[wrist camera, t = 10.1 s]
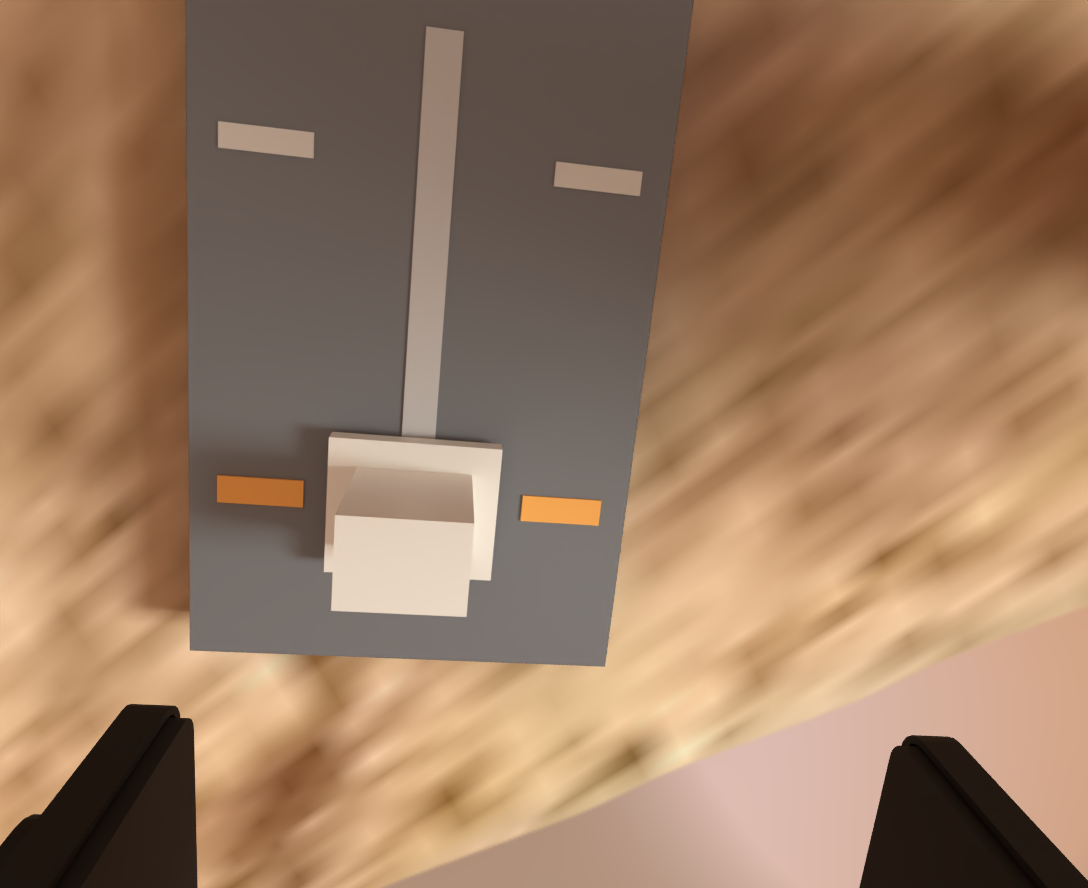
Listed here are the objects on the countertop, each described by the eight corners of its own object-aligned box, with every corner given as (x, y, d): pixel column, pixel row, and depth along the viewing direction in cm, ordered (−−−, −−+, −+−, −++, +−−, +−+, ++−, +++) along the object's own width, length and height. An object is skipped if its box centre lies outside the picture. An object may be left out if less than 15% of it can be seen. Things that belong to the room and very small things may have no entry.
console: (672, 6, 29) (696, -21, 26) (592, 631, 34) (605, 667, 31) (215, -61, 27) (183, -99, 24) (213, 614, 32) (188, 651, 30)
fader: (501, 444, 28) (511, 493, 23) (490, 571, 30) (496, 648, 24) (332, 431, 28) (299, 479, 22) (327, 563, 29) (295, 639, 23)
